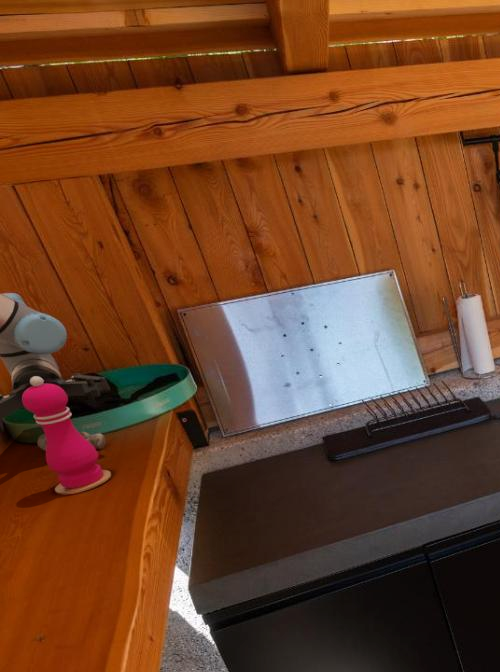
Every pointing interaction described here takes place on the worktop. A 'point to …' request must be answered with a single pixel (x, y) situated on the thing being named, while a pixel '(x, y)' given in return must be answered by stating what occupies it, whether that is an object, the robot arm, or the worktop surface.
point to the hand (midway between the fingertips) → (45, 411)
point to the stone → (95, 439)
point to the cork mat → (65, 491)
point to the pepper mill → (62, 435)
